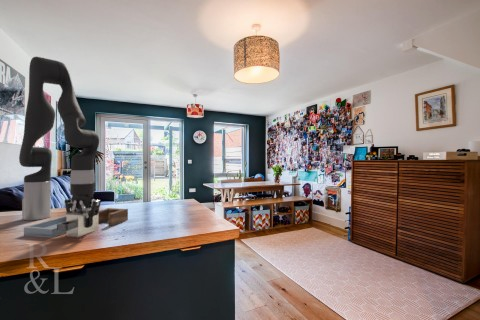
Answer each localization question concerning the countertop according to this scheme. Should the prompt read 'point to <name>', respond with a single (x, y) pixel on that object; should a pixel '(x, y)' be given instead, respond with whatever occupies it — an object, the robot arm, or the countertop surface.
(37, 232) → the tray
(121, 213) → the cubby
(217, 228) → the countertop surface
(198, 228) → the countertop surface
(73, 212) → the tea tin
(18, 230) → the countertop surface
